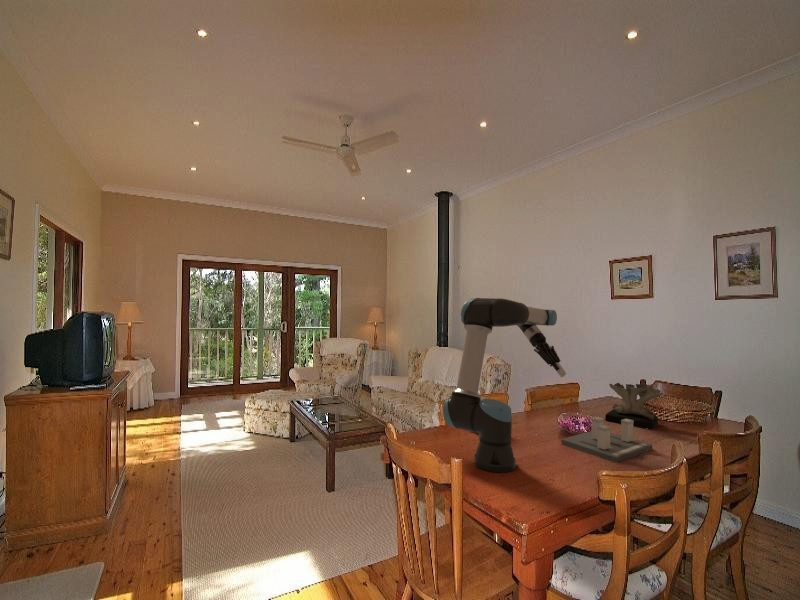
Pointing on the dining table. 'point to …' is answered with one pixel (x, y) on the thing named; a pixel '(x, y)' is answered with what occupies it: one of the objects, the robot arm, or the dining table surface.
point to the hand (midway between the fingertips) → (563, 375)
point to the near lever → (603, 437)
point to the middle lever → (595, 423)
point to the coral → (634, 405)
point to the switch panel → (616, 451)
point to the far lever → (627, 430)
